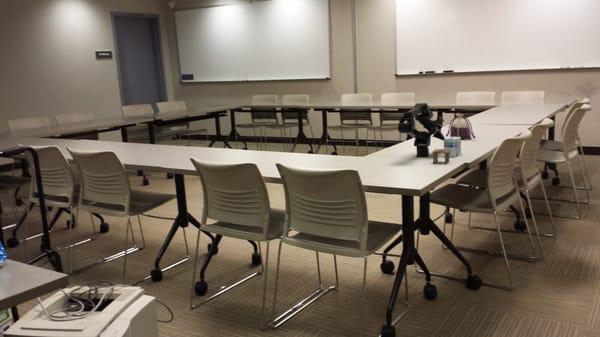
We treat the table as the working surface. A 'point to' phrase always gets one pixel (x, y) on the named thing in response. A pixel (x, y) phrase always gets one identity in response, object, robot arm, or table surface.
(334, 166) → the table surface
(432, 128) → the robot arm
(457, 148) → the light bulb box
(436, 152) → the walnut stool
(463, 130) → the pouch
